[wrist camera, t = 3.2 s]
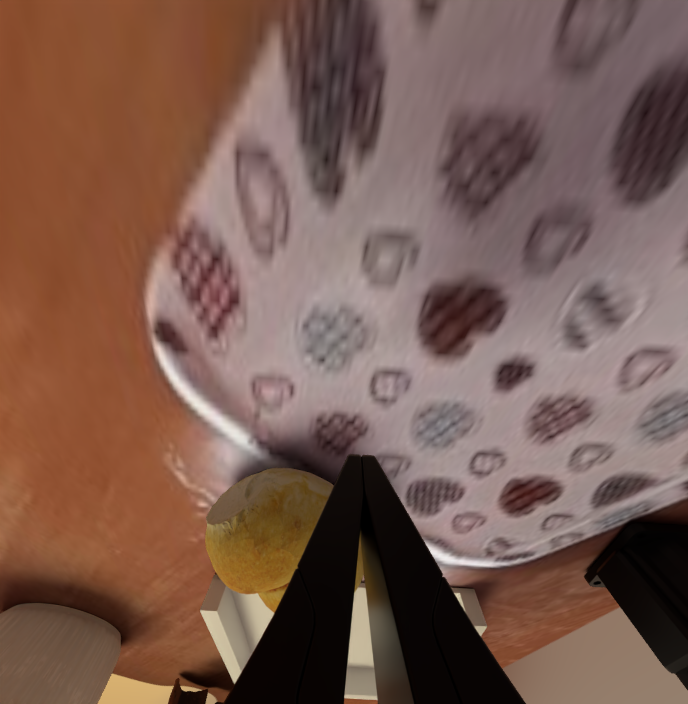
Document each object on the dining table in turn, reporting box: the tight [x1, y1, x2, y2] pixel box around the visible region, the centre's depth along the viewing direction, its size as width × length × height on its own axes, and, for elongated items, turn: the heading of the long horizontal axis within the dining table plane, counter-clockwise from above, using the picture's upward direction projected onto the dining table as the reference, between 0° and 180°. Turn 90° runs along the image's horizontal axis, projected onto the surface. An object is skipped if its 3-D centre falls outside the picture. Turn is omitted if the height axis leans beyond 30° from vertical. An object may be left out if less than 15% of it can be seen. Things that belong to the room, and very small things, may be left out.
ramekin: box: [0, 603, 121, 704], centre depth 21 cm, size 13×13×7 cm
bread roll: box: [205, 468, 364, 613], centre depth 13 cm, size 8×9×4 cm
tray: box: [200, 575, 487, 700], centre depth 22 cm, size 20×18×2 cm
